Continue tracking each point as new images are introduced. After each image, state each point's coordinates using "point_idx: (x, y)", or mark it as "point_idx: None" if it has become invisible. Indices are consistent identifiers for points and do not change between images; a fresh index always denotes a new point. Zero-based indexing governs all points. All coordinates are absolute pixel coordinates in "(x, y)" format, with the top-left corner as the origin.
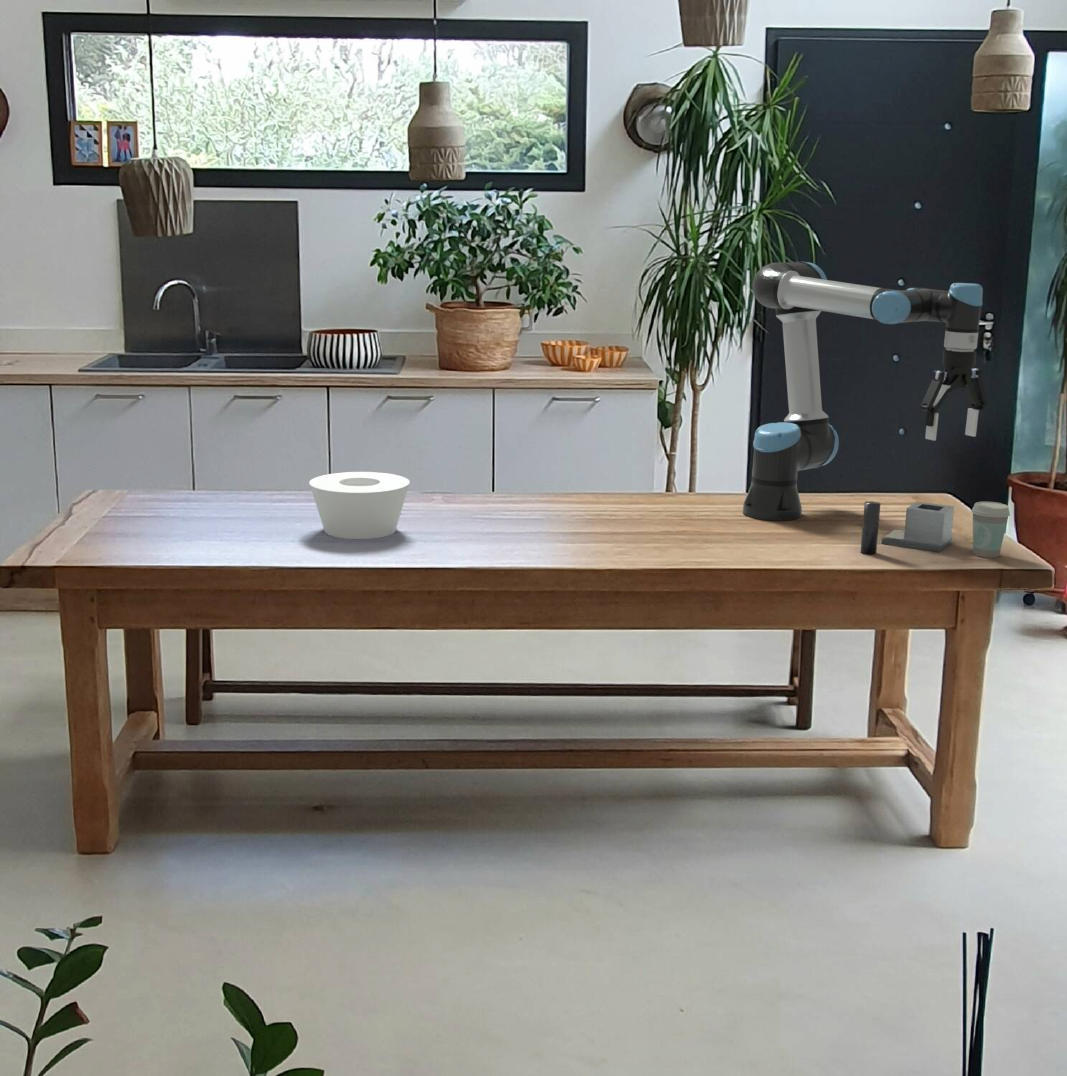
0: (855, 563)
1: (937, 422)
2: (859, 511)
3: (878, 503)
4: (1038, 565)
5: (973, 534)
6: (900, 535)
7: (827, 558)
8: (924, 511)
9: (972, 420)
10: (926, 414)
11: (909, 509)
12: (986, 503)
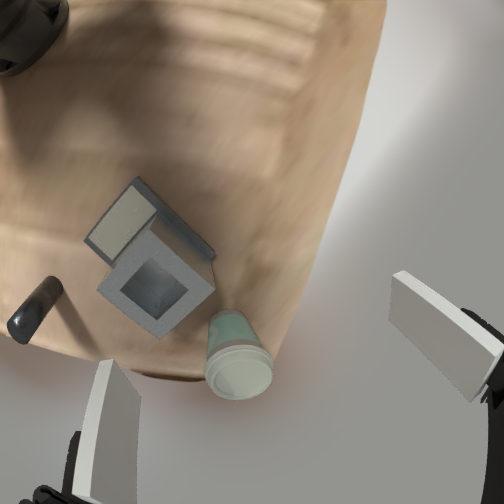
0: None
1: (135, 472)
2: (182, 4)
3: (26, 337)
4: None
5: (208, 340)
6: (120, 232)
7: (7, 298)
8: (126, 314)
9: (438, 351)
10: (63, 486)
11: (101, 293)
12: (244, 366)
